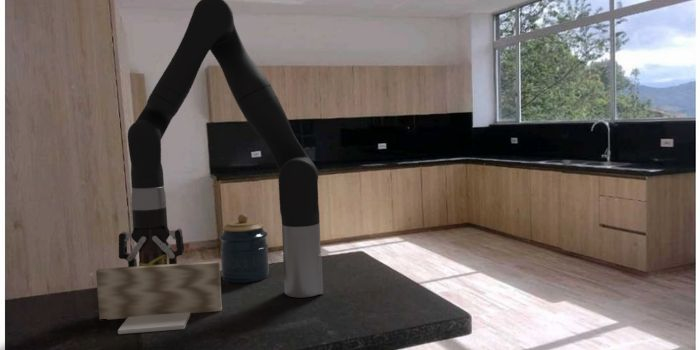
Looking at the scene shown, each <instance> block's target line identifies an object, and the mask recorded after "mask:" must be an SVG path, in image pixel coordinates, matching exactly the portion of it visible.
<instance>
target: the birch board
mask: <svg viewBox="0 0 700 350" xmlns="http://www.w3.org/2000/svg"><path fill="white" fill-rule="evenodd" d="M220 268H221V266H220V261H219V260H217V261H215V260H214V261H204V262H203V261H202V262H200V261H199V262H188V263H187V262H186V263H185V262H184V263H177V264H169V263H167V265H152V266H139V265H137V266H136V267H128V266H122V267H121V266H120V267H108V268H107V267H105V268H98V269H96V270H95V273H96V277H95V278H96V287H97V301H98V304H97V305H98V317H99V320H100V319H107V320H118V319H119V320H120V319H127V318H128V317H133V316H146V315H159V314H173V313H186V312H190V314H196V313H197V314H199V313H209V312H222V310H223V303H222V285H221V269H220Z"/></svg>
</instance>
